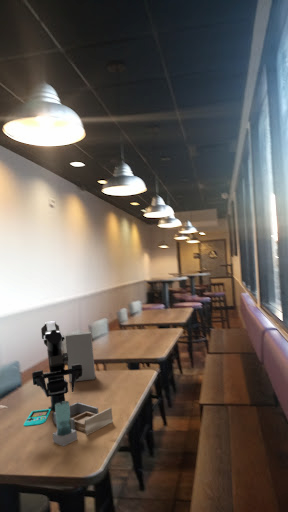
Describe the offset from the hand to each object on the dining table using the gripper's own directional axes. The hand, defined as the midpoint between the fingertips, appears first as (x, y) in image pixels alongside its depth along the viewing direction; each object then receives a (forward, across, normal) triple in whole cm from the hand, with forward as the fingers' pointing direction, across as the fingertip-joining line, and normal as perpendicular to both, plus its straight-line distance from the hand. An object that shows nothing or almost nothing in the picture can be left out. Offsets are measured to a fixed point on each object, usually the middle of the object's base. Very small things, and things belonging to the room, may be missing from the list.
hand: (60, 394), depth 138 cm
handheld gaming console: (-4, -9, +25) cm, 27 cm away
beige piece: (+8, +10, +12) cm, 17 cm away
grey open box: (+4, +6, +17) cm, 18 cm away
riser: (+15, 0, +6) cm, 16 cm away
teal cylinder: (+13, 0, +3) cm, 13 cm away
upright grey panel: (-35, +16, +55) cm, 67 cm away
